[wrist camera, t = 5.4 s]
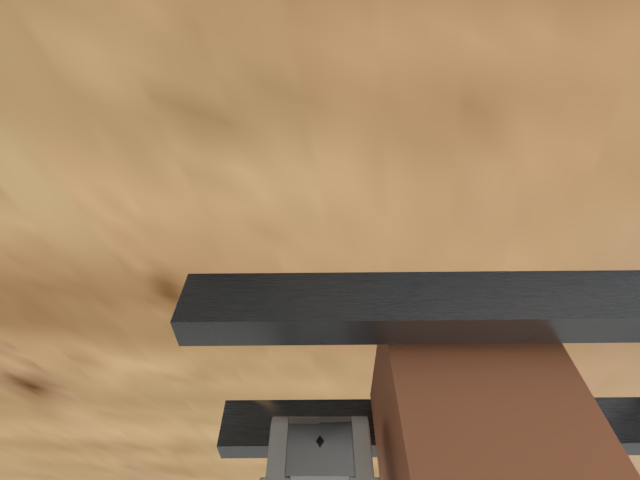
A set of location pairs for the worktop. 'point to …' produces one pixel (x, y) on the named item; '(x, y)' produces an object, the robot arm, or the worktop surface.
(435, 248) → the worktop surface
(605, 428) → the block
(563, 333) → the rail
